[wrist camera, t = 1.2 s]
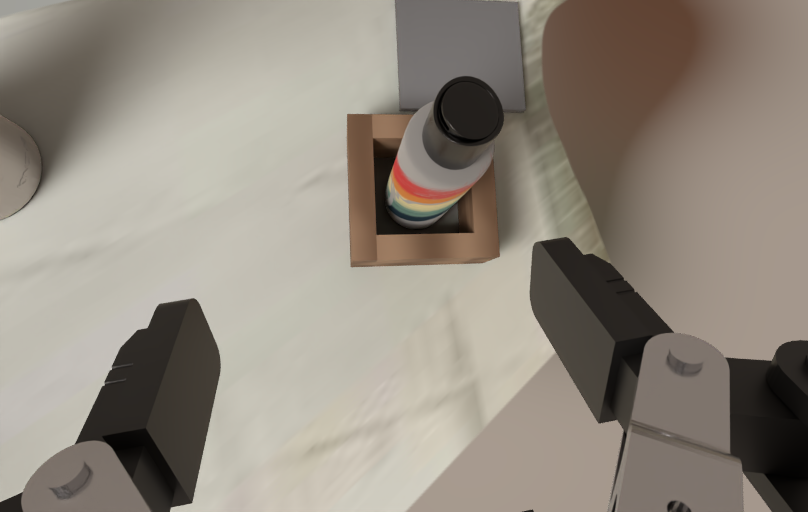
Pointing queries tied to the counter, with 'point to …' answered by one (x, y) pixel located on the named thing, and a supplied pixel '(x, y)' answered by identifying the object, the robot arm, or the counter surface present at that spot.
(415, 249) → the bottle holder
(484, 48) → the rubber mat
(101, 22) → the counter surface
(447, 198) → the lotion bottle
